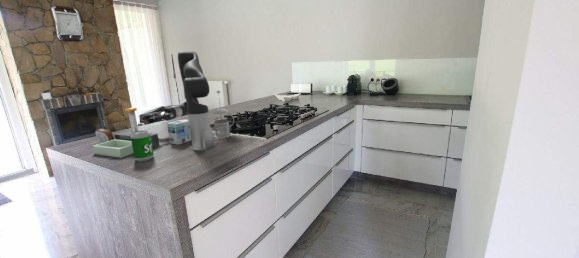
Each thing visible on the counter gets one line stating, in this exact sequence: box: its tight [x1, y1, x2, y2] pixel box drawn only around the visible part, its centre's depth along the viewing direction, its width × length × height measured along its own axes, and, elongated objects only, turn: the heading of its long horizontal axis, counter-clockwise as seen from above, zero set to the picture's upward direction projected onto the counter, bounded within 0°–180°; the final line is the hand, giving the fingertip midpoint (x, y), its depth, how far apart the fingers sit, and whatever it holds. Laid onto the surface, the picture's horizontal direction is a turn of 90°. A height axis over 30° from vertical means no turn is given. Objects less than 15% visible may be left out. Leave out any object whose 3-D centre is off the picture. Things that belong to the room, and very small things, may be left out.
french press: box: [212, 90, 235, 139], centre depth 149 cm, size 10×12×25 cm
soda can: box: [130, 130, 155, 162], centre depth 119 cm, size 8×8×12 cm
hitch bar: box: [113, 130, 160, 148], centre depth 140 cm, size 22×7×6 cm, turn 68°
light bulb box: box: [166, 118, 191, 145], centre depth 144 cm, size 11×7×11 cm, turn 150°
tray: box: [92, 138, 134, 159], centre depth 131 cm, size 18×11×4 cm, turn 68°
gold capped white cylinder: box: [125, 107, 139, 133], centre depth 138 cm, size 5×5×19 cm
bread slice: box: [94, 127, 115, 144], centre depth 143 cm, size 15×3×8 cm, turn 57°
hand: (148, 118), depth 146 cm, fingers open, 8 cm apart
